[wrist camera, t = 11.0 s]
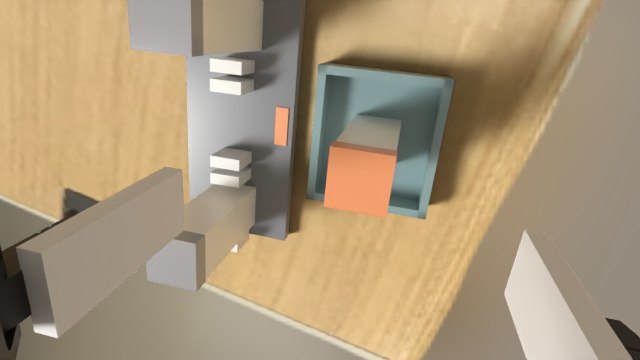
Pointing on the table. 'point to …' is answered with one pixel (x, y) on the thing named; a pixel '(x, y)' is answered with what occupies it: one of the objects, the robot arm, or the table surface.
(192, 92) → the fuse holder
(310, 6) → the table surface
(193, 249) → the block
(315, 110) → the tray
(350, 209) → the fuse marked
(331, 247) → the table surface
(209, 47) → the block
